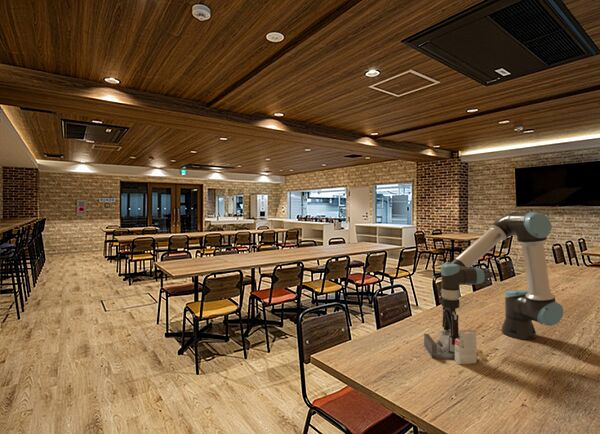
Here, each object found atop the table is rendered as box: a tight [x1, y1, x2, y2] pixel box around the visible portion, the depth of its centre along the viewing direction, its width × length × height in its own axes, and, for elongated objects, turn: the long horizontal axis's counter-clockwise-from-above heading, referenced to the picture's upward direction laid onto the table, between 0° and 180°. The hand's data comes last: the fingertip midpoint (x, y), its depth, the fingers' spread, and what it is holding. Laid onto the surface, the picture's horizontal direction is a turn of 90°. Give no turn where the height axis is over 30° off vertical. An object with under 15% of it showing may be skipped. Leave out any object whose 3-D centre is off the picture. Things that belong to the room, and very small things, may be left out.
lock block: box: [437, 330, 460, 351], centre depth 153 cm, size 9×6×7 cm
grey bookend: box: [423, 333, 455, 360], centre depth 153 cm, size 18×13×6 cm
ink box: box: [454, 329, 477, 365], centre depth 143 cm, size 4×8×15 cm, turn 96°
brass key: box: [476, 349, 488, 362], centre depth 149 cm, size 8×4×1 cm, turn 174°
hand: (450, 347), depth 153 cm, fingers open, 7 cm apart
